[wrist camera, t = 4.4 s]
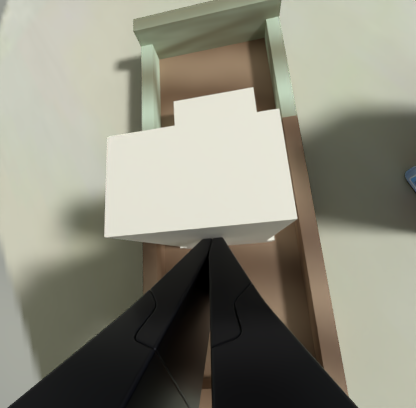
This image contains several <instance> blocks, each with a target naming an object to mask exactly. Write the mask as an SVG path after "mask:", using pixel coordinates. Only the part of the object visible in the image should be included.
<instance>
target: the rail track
mask: <svg viewBox="0 0 416 408" xmlns="http://www.w3.org/2000/svg"><path fill="white" fill-rule="evenodd" d="M280 6H281V0H213V1H209V2H205V3H200V4H196V5H192V6H188V7H184V8H179V9H175V10H171V11H167V12H163V13H158V14H154V15H150V16H146V17H142V18H137V19H133V31H134V33H135V35H136V37H137V39H138V41H139V43H140V45H141V77H142V131H145V130H151V129H157V128H163V127H169V126H175V121H174V101H179V100H185V99H190V98H196V97H201V96H207V95H213V94H218V93H224V92H229V91H235V90H240V89H246V88H251V87H253V88H254V96H255V103H256V110H257V112H260V111H267V110H273V109H279V110H280V116H281V122H282V128H283V134H284V140H285V146H286V152H287V159H288V165H289V171H290V177H291V183H292V189H293V195H294V201H295V207H296V213H297V220H295V221H294V222H292V223H291V224H290V225H288V226H287V227H285V228H284V229H283V230H281V231H280V232H278V233H277V234H275V235H274V239H275V240H274V241H272V242H264V243H252V244H240V245H228V246H229V248H230V249H231V251H232V253H233V254H234V256H235V257H236V259H237V260H238V262H239V263H240V265H241V266H242V268H243V270H244V271H245V273H246V274H247V276H248V277H249V279H250V280H251V282H252V284H253V285H254V286H255V288H256V289H257V291H258V292H259V294H260V295H261V296H262V298H263V299H264V301H265V302H266V303H267V305H268V306H269V307H270V308H271V309H272V311H273V312H274V313H275V314H276V315H277V316H278V318H279V319H280V320H281V321H282V322H283V323H284V324H285V325H286V327H287V328H288V329H289V330H290V331H291V332H292V333H293V335H294V336H295V337H296V338H297V339H298V340H299V341H300V342H301V344H302V345H303V346H304V347H305V348H306V349H307V350H308V351H309V353H310V354H311V355H312V356H313V357H314V358H315V359H316V361H317V362H318V363H319V364H320V365H321V366H322V367H323V368H324V370H325V371H326V372H327V373H328V374H329V375H330V376H331V377H332V379H333V380H334V381H335V382H336V383H337V384H338V385H339V386H340V388H341V389H342V390H343V391H344V392H345V393H346V394H347V396H348V391H347V385H346V380H345V374H344V369H343V363H342V358H341V352H340V347H339V341H338V336H337V330H336V325H335V320H334V314H333V309H332V303H331V298H330V292H329V287H328V281H327V276H326V270H325V265H324V259H323V254H322V248H321V243H320V238H319V232H318V227H317V221H316V216H315V210H314V205H313V199H312V194H311V188H310V183H309V177H308V172H307V166H306V161H305V155H304V150H303V145H302V139H301V134H300V128H299V123H298V117H297V112H296V106H295V101H294V95H293V90H292V84H291V79H290V73H289V68H288V62H287V57H286V52H285V46H284V41H283V35H282V30H281V24H280V19H279V13H280ZM190 250H191V249H185V248H180V246H172V245H163V244H155V243H147V242H143V295H144V294H145V293H146V292H147V291H148V290H150V289H151V288H152V287H153V286H154V285H155V284H156V283H157V282H158V281H159V280H160V279H161V278H162V277H163V276H164V275H165V274H166V273H167V272H168V271H170V270H171V269H172V268H173V267H174V266H175V265H176V264H177V263H178V262H179V261H180V260H181V259H182V258H183V257H184V256H185V255H186V254H187V253H188V252H189V251H190ZM348 397H349V396H348ZM199 408H212V394H211V348H210V334H209V341H208V348H207V355H206V362H205V369H204V376H203V383H202V390H201V397H200V404H199Z"/></svg>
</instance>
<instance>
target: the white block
mask: <svg viewBox="0 0 416 408" xmlns="http://www.w3.org/2000/svg"><path fill="white" fill-rule="evenodd" d="M174 121H175V126H169V127H163V128H157V129H151V130H145V131H139V132H133V133H126V134H120V135H114V136H108V137H107V161H106V195H105V230H104V237H105V238H113V239H122V240H130V241H138V242H147V243H155V244H163V245H172V246H180V248H185V249H192V248H193V247H195V246H196V245H197V244H198V243H199V242H200V241H201V240H202V239H207V238H212V239H213V238H218V237H223V239H224V240H225V242H226V243H227V245H240V244H252V243H264V242H272V241H274V240H275V239H274V235H275V234H277V233H278V232H280V231H281V230H283V229H284V228H285V227H287V226H288V225H290V224H291V223H292V222H294V221H295V220H297V213H296V207H295V201H294V195H293V189H292V183H291V177H290V171H289V165H288V159H287V152H286V146H285V140H284V134H283V128H282V122H281V116H280V110H279V109H273V110H267V111H260V112H257V110H256V103H255V96H254V88H253V87H251V88H246V89H240V90H235V91H229V92H224V93H218V94H213V95H207V96H201V97H196V98H190V99H185V100H179V101H174Z"/></svg>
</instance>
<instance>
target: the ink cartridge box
mask: <svg viewBox="0 0 416 408" xmlns="http://www.w3.org/2000/svg"><path fill="white" fill-rule="evenodd" d="M405 178H406V180H407V181H408V182H409V184H410V185H411V186H412V188H413V189H414V190H415V192H416V166H414V167H412V168H410V169H409V170H408V171H406V172H405Z"/></svg>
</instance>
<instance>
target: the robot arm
mask: <svg viewBox="0 0 416 408" xmlns="http://www.w3.org/2000/svg"><path fill="white" fill-rule="evenodd" d="M209 334H210V348H211V394H212V408H358V407H357V406H356V405H355V403H354V402H353V401H352V400H351V399H350V398H349V397H348V396H347V394H346V393H345V392H344V391H343V390H342V389H341V388H340V386H339V385H338V384H337V383H336V382H335V381H334V380H333V379H332V377H331V376H330V375H329V374H328V373H327V372H326V371H325V370H324V368H323V367H322V366H321V365H320V364H319V363H318V362H317V361H316V359H315V358H314V357H313V356H312V355H311V354H310V353H309V351H308V350H307V349H306V348H305V347H304V346H303V345H302V344H301V342H300V341H299V340H298V339H297V338H296V337H295V336H294V335H293V333H292V332H291V331H290V330H289V329H288V328H287V327H286V325H285V324H284V323H283V322H282V321H281V320H280V319H279V318H278V316H277V315H276V314H275V313H274V312H273V311H272V309H271V308H270V307H269V306H268V305H267V303H266V302H265V301H264V299H263V298H262V296H261V295H260V294H259V292H258V291H257V289H256V288H255V286H254V285H253V284H252V282H251V280H250V279H249V277H248V276H247V274H246V273H245V271H244V270H243V268H242V266H241V265H240V263H239V262H238V260H237V259H236V257H235V256H234V254H233V253H232V251H231V249H230V248H229V246H228V245H227V243H226V242H225V240H224V239H223V237H218V238H213V239H212V238H207V239H202V240H201V241H200V242H199V243H198V244H197V245H196V246H195V247H193V248H192V249H191V250H190V251H189V252H188V253H187V254H186V255H185V256H184V257H183V258H182V259H181V260H180V261H179V262H178V263H177V264H176V265H175V266H174V267H173V268H172V269H171V270H170V271H168V272H167V273H166V274H165V275H164V276H163V277H162V278H161V279H160V280H159V281H158V282H157V283H156V284H155V285H154V286H153V287H152V288H151V289H150V290H148V291H147V292H146V293H145V294H144V295H143V296H142V297H141V298H140V299H139V300H138V301H136V302H135V303H134V304H133V305H132V306H131V307H130V308H129V309H128V310H126V311H125V312H124V313H123V314H122V315H120V316H119V317H118V318H117V319H116V320H114V321H113V322H112V323H111V324H110V325H108V326H107V327H106V328H105V329H103V330H102V331H101V332H100V333H99V334H97V335H96V336H95V337H94V338H92V339H91V340H90V341H89V342H87V343H86V344H85V345H84V346H83V347H81V348H80V349H79V350H78V351H76V352H75V353H74V354H73V355H72V356H70V357H69V358H68V359H67V360H65V361H64V362H63V363H62V364H60V365H59V366H58V367H57V368H56V369H54V370H53V371H52V372H51V373H49V374H48V375H47V376H46V377H45V378H43V379H42V380H41V381H40V382H38V383H37V384H36V385H35V386H34V387H32V388H31V389H30V390H29V391H27V392H26V393H25V394H24V395H23V396H21V397H20V398H19V399H18V400H16V401H15V402H14V403H13V404H12V405H10V406H9V407H8V408H199V404H200V397H201V390H202V383H203V376H204V369H205V362H206V355H207V348H208V341H209Z"/></svg>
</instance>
